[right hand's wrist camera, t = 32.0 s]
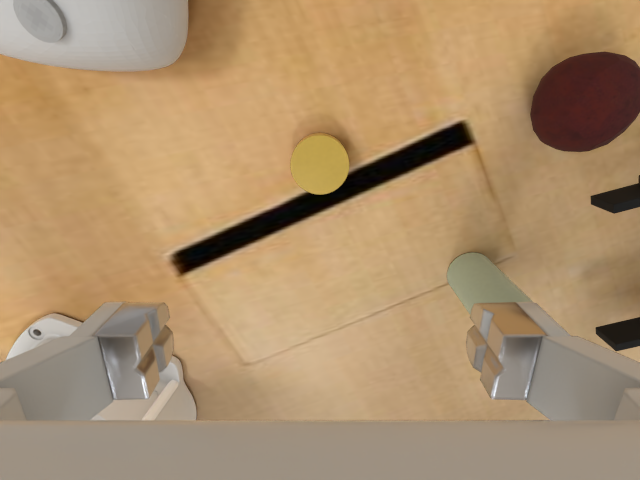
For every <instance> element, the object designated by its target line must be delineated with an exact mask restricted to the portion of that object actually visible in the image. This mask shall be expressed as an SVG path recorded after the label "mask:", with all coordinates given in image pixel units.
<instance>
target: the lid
mask: <svg viewBox="0 0 640 480" xmlns="http://www.w3.org/2000/svg"><path fill="white" fill-rule="evenodd" d="M290 167H291V173H292V176H293V178H294V180H295V181H296V183H297V184H298V185H299V186H300V187H301V188H302V189H304V190H305V191H307V192H309V193H312V194H327V193H330V192H332V191H335V190H336V189H338V188H339V187H340V186H341V185H342V184H343V182H344V181H345V179H346V177H347V175H348V172H349V158H348V155H347V152H346V150H345V148H344V146H343V145H342V143H341V142H340V141H339V140H338V139H337V138H335V137H334V136H332V135H329V134H326V133H314V134H311V135H308V136H306V137H305V138H303V139H302V140H301V141H300V142H299V143H298V144H297V146H296V147H295V149H294V152H293V154H292V157H291V162H290Z"/></svg>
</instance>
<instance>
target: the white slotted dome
mask: <svg viewBox="0 0 640 480" xmlns="http://www.w3.org/2000/svg"><path fill="white" fill-rule="evenodd" d="M187 34H188V0H0V54H2V55H5V56H9V57H12V58H16V59H20V60H24V61H29V62H34V63H39V64H44V65H50V66H57V67H64V68H72V69H82V70H95V71H146V70H154V69H160V68H163V67H167V66H169V65H171V64H173V63H174V62H175V61H176V60H177V59H178V58H179V57H180V55H181V53H182V51H183V49H184V47H185V44H186V40H187Z"/></svg>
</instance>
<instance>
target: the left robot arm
mask: <svg viewBox="0 0 640 480" xmlns="http://www.w3.org/2000/svg"><path fill="white" fill-rule="evenodd" d="M591 204H592V205H594V206H597V207H599V208H602V209H604V210H607V211H609V212H612V213H618V212H622V211H626V210H629V209H633V208H637V207H640V175H639V183H638V184H634V185H631V186H627V187H623V188H619V189H615V190H612V191H608V192H604V193H600V194H597V195H593V196H591ZM596 334H597V335H598V336H599V337H600V338H601V339H603V340H604V341H605V342H606V343H607V344H608V345H610V346H611V347H612V348H613V349H614V350H615V351H619V350H624V349H628V348H633V347H637V346H640V317H639V318H634V319H630V320H626V321H621V322H617V323H613V324H608V325H604V326H600V327H596Z"/></svg>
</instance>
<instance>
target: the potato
mask: <svg viewBox="0 0 640 480" xmlns="http://www.w3.org/2000/svg"><path fill="white" fill-rule="evenodd" d="M639 112H640V67H639V66H638V65H637V63H636V62H635V61H633V60H632V59H630V58H628V57H627V56H624V55H620V54H615V53H609V52H597V53H588V54H582V55H578V56H574V57H570V58H568V59H566V60H564V61H562V62H561V63H559V64H557V65H555V66H554V67H552V68H551V69H550V70H549V71H548V72H547V74H546V75H545V76H544V77H543V78H542V79H541V81H540V83H539V85H538V88H537V90H536V92H535V94H534V96H533V102H532V108H531V114H530V115H531V120H532V126H533V131H534V132H535V133H536V135H537V136H538V138H539V139H540V141H542V142H543V143H544V144H547V145H549V146H551V147H553V148H555V149H558V150H562V151H573V152H583V151H590V150H593V149H595V148H598V147H601V146H604V145H606V144H608V143H610V142H611V141H612V140H614V139H615V138H616V137H618V136H619V135H620V134H622V133H623V132H624V131H625V130H626V129H627V128H628V127H629V126H630V124H631V123H632V122H633V121H634V120H635V119H636V117H637V116H638V114H639Z"/></svg>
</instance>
